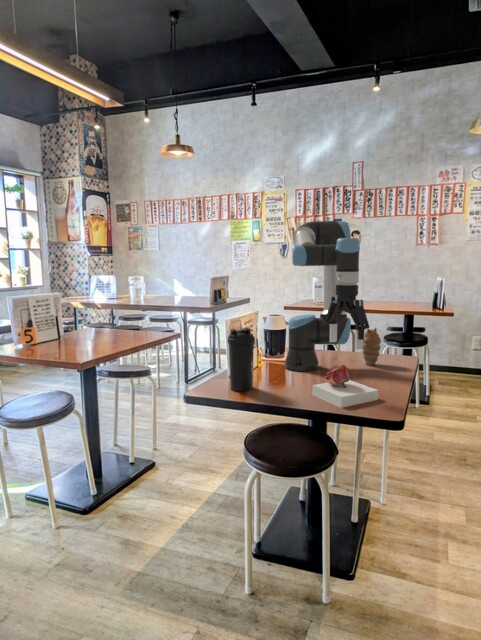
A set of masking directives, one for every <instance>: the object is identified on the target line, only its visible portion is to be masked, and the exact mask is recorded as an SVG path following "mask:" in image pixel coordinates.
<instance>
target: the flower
mask: <svg viewBox="0 0 481 640" xmlns="http://www.w3.org/2000/svg"><path fill="white" fill-rule="evenodd" d="M349 369H350V368H349V367H347V366H346V365H345V364H341V365H340V366H339V365H334V366H333V367H332V368H331V369H330V370H329V371H328V372H326V373H325V376H323V378H324V379H326V380H327V381H328V383H329V384H333V386H338V385H340V384H342V385H343V387H344V388H346V386H345V384H344V382H348V381H349V380H351V378H353V377H350V376H351V374H350V375H349V373H350V371H349Z"/></svg>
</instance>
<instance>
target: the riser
mask: <svg viewBox="0 0 481 640" xmlns="http://www.w3.org/2000/svg"><path fill="white" fill-rule="evenodd" d="M348 380H349V379H348ZM344 384H345V386H346V388H344V387H343V385H342V384H340V385H338V386H333V384H329V382H323V383H317V384H312V396H314V397H315V398H319V399H321V400H323V401H324V402H327V403H329V404H332V405H333V406H336V407H338V408H341V409H342V408H347V407H350V406H356V405H359V404H364V403H369V402H374V401H377V400H379V390H378V389H375V388H373V387H370V386H367V385H365V384H362V383H359V382H357V381H353V380H351V379H350V380H349V381H348V382H344Z"/></svg>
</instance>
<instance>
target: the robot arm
mask: <svg viewBox="0 0 481 640" xmlns="http://www.w3.org/2000/svg"><path fill="white" fill-rule="evenodd" d="M350 228H351V227H350V225H349V223H348V222H347V221H345V220H321V221H320V220H319V221H317V220H314V221H313V220H312V221H309V222H305V223H303V224H301V225H300V226H298V227H297V228H296V229H295V230H294V232H293V234H292V242H293V246H292V251H291V253H292V254H291V255H292V259H291V260H292V261H291V263H292V265H293V266H294V267H320V266H321V267H323V310H322V311H321V312H320V314H319V317H316V315H315V314H300V315H296V316H295V315H294V316H292V317H290V318H289V320H288V327H287V329H288V351H287V353H286V357H285V361H284V368H285V369H286V370H290V371H296V372H312V371H315V370H318V369H320V368H319V367H320V366H319V359H318V357H317V354H316V345H335V346H337V345H346V344H347V343H348V340H349V338H350V333H351V326H352V324H351V322H352V321H353V323H354V326H355V327H356V329H355V331H354V333H355V335H354V340H355V341H354V350H357V351H358V350H363V339H364V335H365V330H366V329H370V324H369V321H368V318H367V314H366V311H365V308H364V300H363V299H357V298H356V297H358V295H359V285H358V284H359V282H360V281H359V278H360V277H359V274H360V273H359V272H360V271H359V269H360V267H359V264H360V250H361V248H360V239H359V238H357V237H351V236H352V235H351V229H350ZM348 314H350V317H351V318H349V317H348ZM351 319H352V320H351Z"/></svg>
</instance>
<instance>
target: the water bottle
mask: <svg viewBox="0 0 481 640" xmlns="http://www.w3.org/2000/svg"><path fill="white" fill-rule="evenodd" d="M251 331H252V329H251V328H249V327H245V328H241V329H235V328H230V331H229V332H230V333H229V335H228V337H227V343H228V356H229V357H228V359H229V378H230V379H229V380H230V389H231V391H234V392H247V391H251V390H253V388H254V386H253V383H254V350H255V349H254V348H255V347H254V344H255V342H256V341H255V340H256V339H255V336H254V334H253V333H252V332H251Z"/></svg>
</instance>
